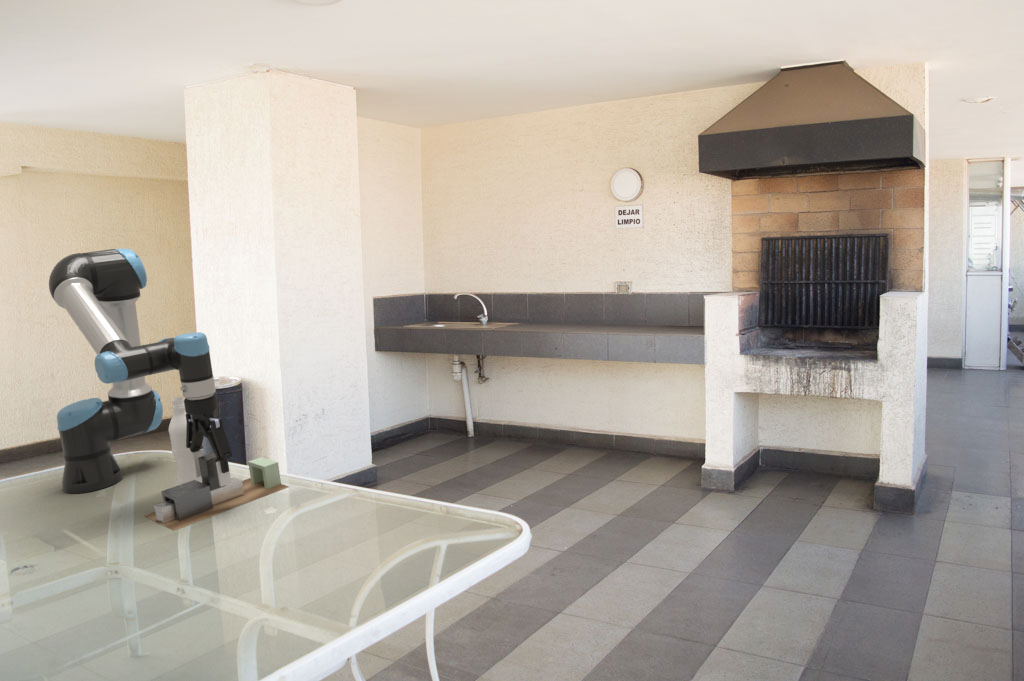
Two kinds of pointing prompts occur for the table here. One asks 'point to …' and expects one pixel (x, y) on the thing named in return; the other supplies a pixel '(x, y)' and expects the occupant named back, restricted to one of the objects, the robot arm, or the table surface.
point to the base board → (224, 504)
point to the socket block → (264, 472)
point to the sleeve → (189, 499)
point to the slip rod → (209, 477)
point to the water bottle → (181, 443)
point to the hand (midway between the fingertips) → (213, 480)
